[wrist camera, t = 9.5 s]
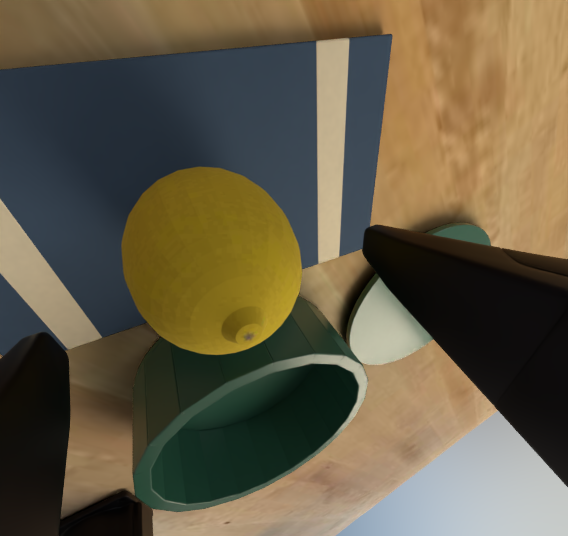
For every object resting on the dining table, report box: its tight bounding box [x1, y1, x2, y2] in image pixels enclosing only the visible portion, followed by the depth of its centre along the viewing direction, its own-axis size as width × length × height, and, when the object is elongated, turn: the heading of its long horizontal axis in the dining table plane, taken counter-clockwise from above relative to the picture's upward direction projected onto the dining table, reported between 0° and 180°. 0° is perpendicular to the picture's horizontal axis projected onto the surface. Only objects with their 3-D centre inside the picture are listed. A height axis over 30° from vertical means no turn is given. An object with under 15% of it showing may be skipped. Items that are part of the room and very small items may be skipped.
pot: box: [133, 297, 368, 512], centre depth 19 cm, size 15×15×5 cm
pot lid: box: [346, 222, 491, 365], centre depth 24 cm, size 15×15×6 cm
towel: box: [0, 34, 392, 356], centre depth 13 cm, size 20×11×1 cm, turn 95°
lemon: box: [121, 167, 302, 355], centre depth 10 cm, size 6×6×8 cm
